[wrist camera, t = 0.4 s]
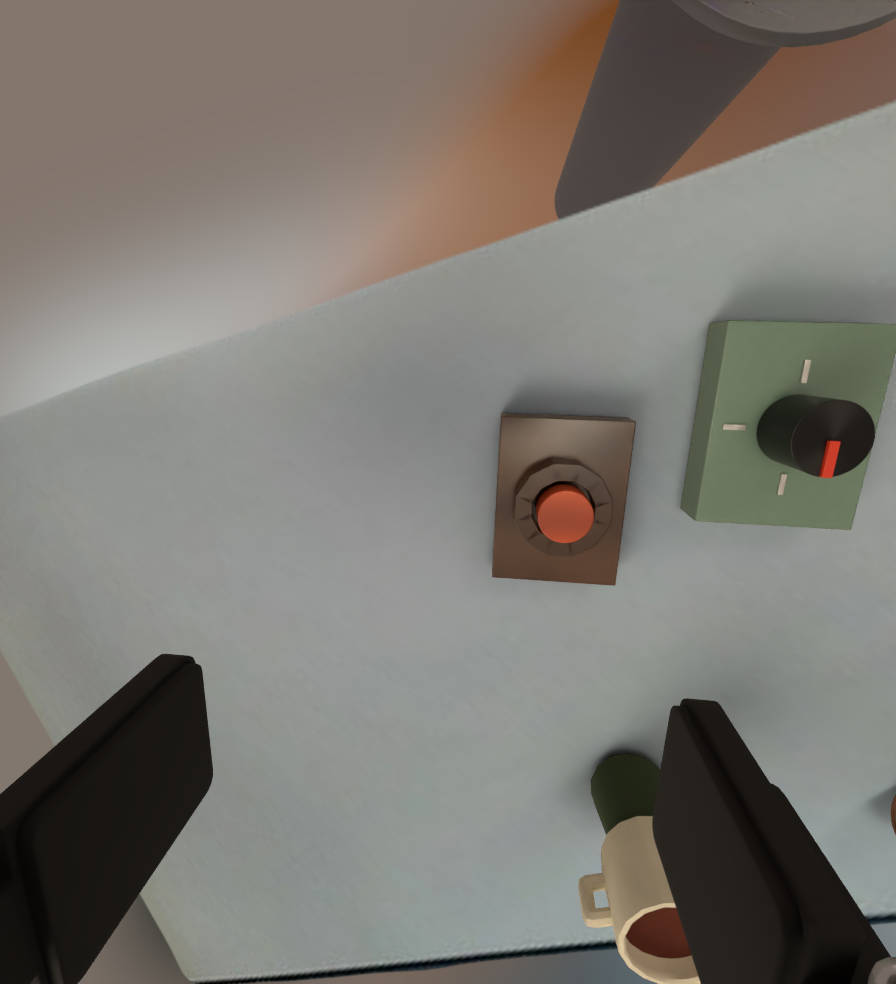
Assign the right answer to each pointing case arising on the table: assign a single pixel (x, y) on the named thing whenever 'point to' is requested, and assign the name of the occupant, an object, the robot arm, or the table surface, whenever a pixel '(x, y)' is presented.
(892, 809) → the tin
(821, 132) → the table surface
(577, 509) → the button
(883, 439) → the table surface
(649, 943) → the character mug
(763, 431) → the dial
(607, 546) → the switch block
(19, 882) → the robot arm
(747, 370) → the dial panel
